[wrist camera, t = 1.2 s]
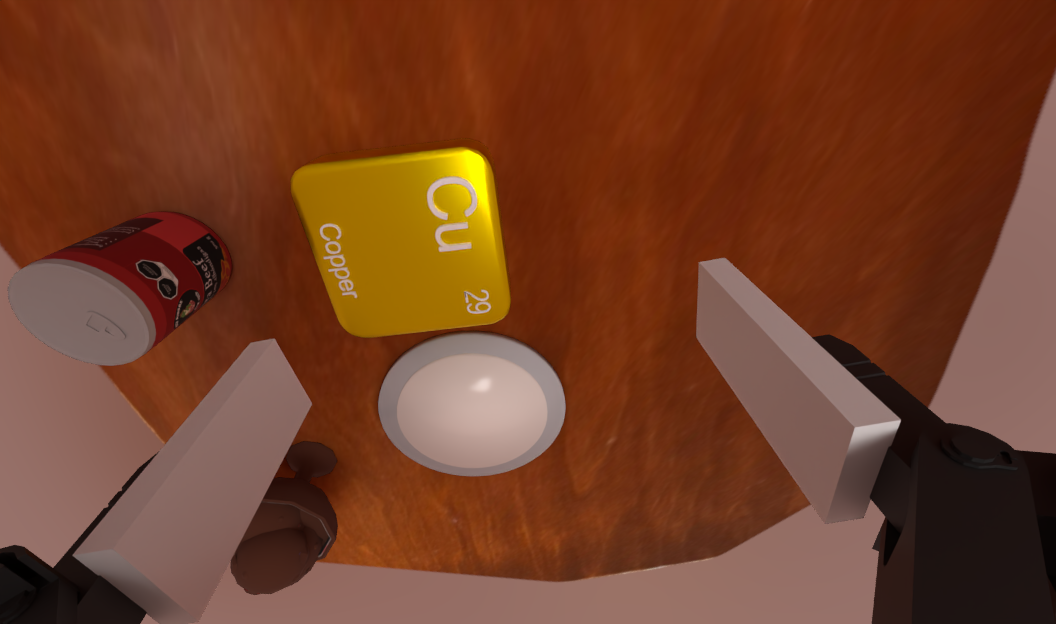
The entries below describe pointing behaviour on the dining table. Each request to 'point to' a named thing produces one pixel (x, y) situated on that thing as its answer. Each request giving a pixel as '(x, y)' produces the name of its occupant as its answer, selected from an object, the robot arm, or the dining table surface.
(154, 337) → the canned food
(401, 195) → the element tile
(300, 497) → the ice cream bowl
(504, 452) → the dish
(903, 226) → the dining table surface
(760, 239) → the dining table surface
